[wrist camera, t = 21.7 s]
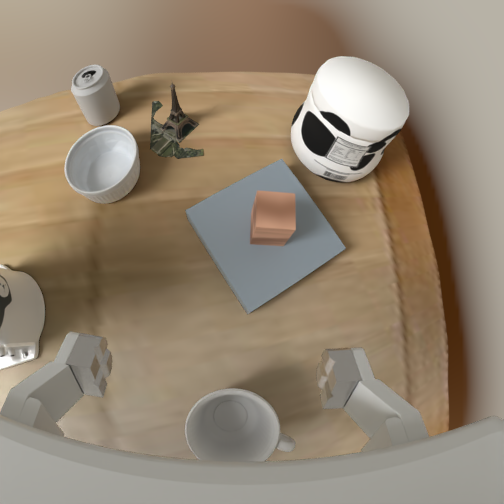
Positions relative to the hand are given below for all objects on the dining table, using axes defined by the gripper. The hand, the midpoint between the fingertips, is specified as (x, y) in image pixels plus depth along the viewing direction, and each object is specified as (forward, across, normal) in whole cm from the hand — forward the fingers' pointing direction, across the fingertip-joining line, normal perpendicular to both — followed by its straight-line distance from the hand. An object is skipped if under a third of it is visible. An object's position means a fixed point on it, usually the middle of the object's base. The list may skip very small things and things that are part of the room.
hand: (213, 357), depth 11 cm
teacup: (+18, +4, -36) cm, 40 cm away
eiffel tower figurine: (+53, -10, -1) cm, 54 cm away
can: (+55, -27, +2) cm, 61 cm away
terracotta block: (+35, +6, -12) cm, 38 cm away
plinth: (+38, +6, -15) cm, 41 cm away
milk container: (+51, +19, -2) cm, 55 cm away
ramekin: (+45, -21, -8) cm, 50 cm away
